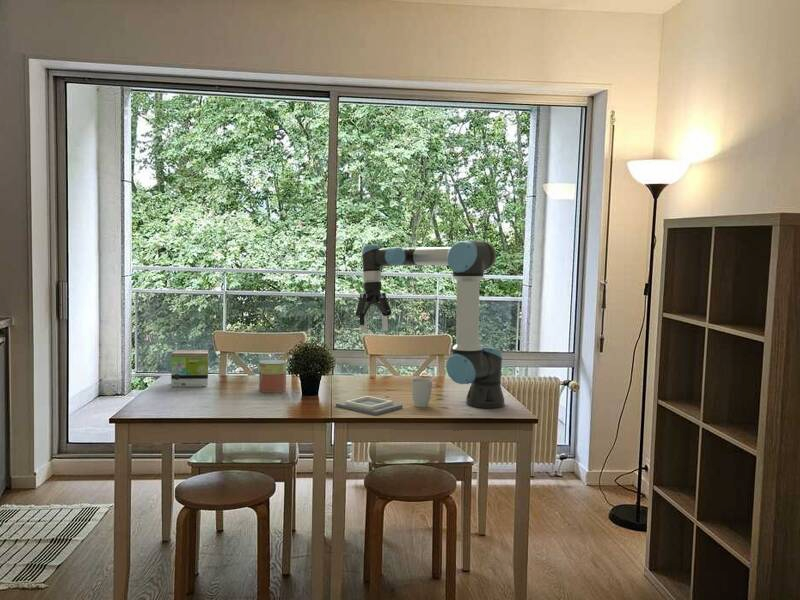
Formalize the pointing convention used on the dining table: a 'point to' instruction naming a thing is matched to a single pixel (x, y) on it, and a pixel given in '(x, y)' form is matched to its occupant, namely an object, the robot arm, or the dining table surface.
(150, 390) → the dining table surface
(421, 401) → the cup
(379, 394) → the dining table surface
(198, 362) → the tea box
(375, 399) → the grey rectangular frame
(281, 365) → the canned food
